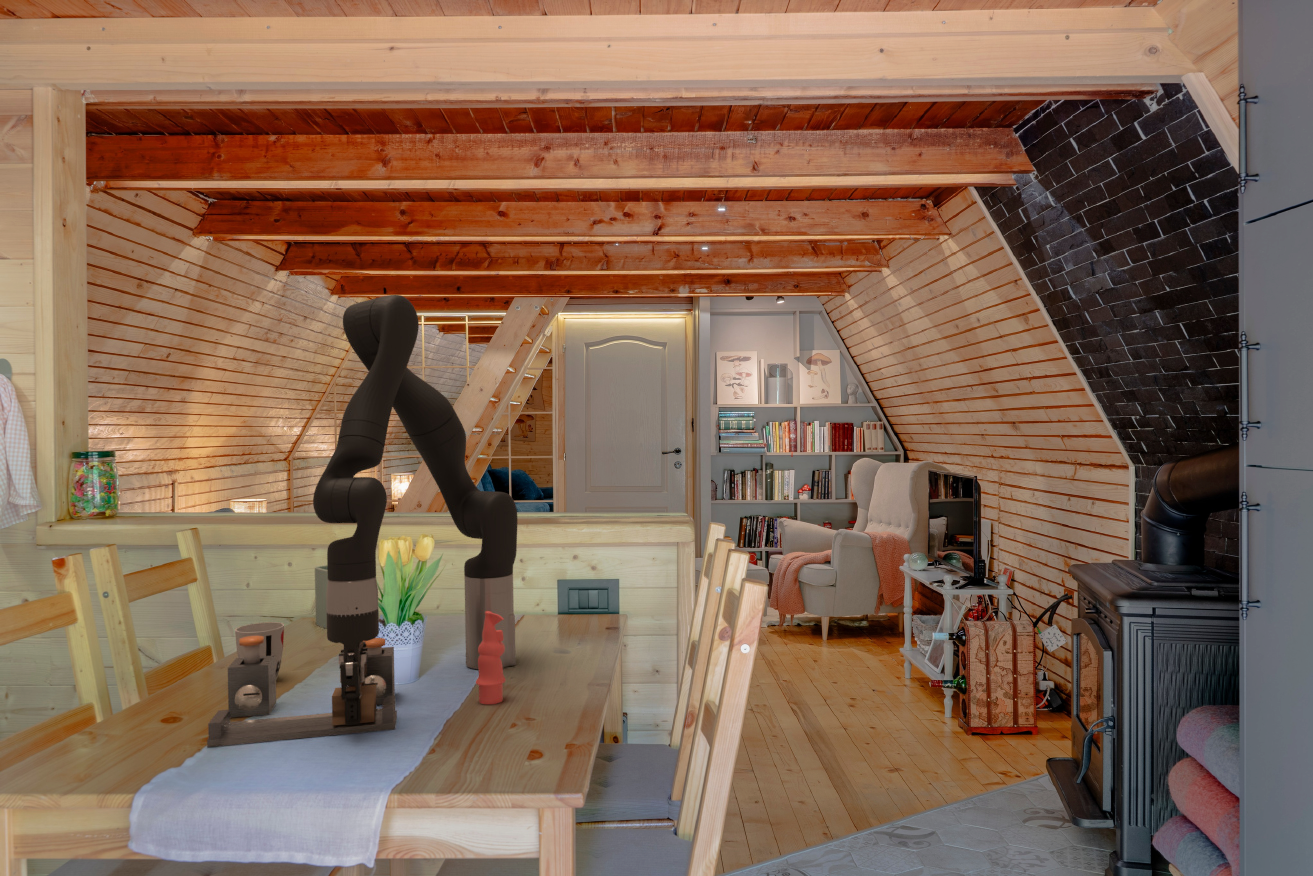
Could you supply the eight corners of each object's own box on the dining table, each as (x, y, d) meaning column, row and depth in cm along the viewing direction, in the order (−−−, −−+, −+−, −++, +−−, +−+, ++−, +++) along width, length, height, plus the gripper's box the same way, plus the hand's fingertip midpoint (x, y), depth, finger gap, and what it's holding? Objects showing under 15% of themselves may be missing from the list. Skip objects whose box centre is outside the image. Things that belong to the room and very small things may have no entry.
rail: (396, 716, 138) (396, 695, 137) (394, 729, 132) (394, 707, 132) (217, 733, 131) (217, 710, 131) (207, 747, 125) (206, 723, 125)
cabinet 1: (276, 703, 145) (275, 655, 145) (268, 715, 139) (267, 665, 139) (237, 706, 144) (236, 658, 144) (228, 718, 138) (226, 668, 138)
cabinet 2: (394, 693, 150) (393, 646, 150) (392, 704, 144) (391, 656, 144) (358, 696, 148) (357, 649, 148) (354, 707, 142) (353, 659, 142)
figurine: (512, 697, 147) (511, 608, 146) (497, 706, 142) (496, 615, 142) (486, 694, 148) (484, 607, 148) (470, 703, 143) (468, 613, 143)
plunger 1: (266, 660, 144) (265, 635, 144) (261, 666, 140) (261, 640, 140) (242, 662, 143) (241, 636, 143) (237, 667, 139) (237, 641, 139)
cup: (266, 689, 153) (265, 633, 153) (226, 687, 155) (224, 631, 154) (294, 676, 161) (293, 622, 161) (255, 674, 163) (254, 621, 162)
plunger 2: (386, 661, 148) (385, 637, 148) (385, 667, 145) (384, 642, 145) (364, 663, 148) (363, 638, 147) (362, 669, 144) (361, 643, 144)
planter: (328, 616, 212) (327, 536, 212) (361, 616, 212) (359, 535, 212) (302, 632, 196) (300, 545, 196) (337, 632, 196) (335, 544, 196)
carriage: (376, 712, 136) (376, 684, 136) (374, 721, 132) (373, 692, 132) (335, 716, 135) (335, 687, 134) (332, 725, 130) (331, 696, 130)
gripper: (374, 615, 127) (377, 731, 127) (381, 597, 141) (383, 701, 141) (320, 619, 125) (322, 736, 125) (332, 600, 139) (334, 706, 139)
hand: (354, 717), depth 133 cm, fingers open, 5 cm apart
